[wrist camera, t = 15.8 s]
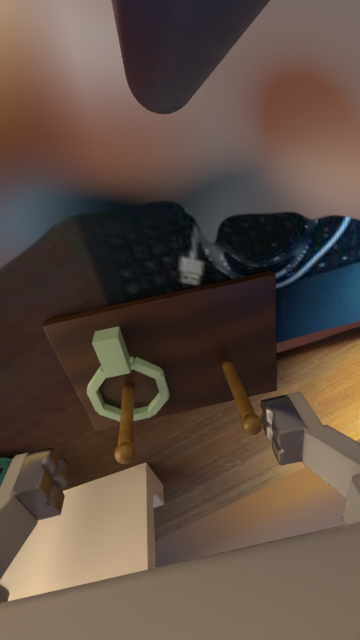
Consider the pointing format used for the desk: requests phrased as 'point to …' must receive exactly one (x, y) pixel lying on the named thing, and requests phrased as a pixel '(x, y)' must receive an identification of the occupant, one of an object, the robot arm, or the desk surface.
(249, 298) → the peg rack
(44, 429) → the desk surface
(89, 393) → the hanging tag
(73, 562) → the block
